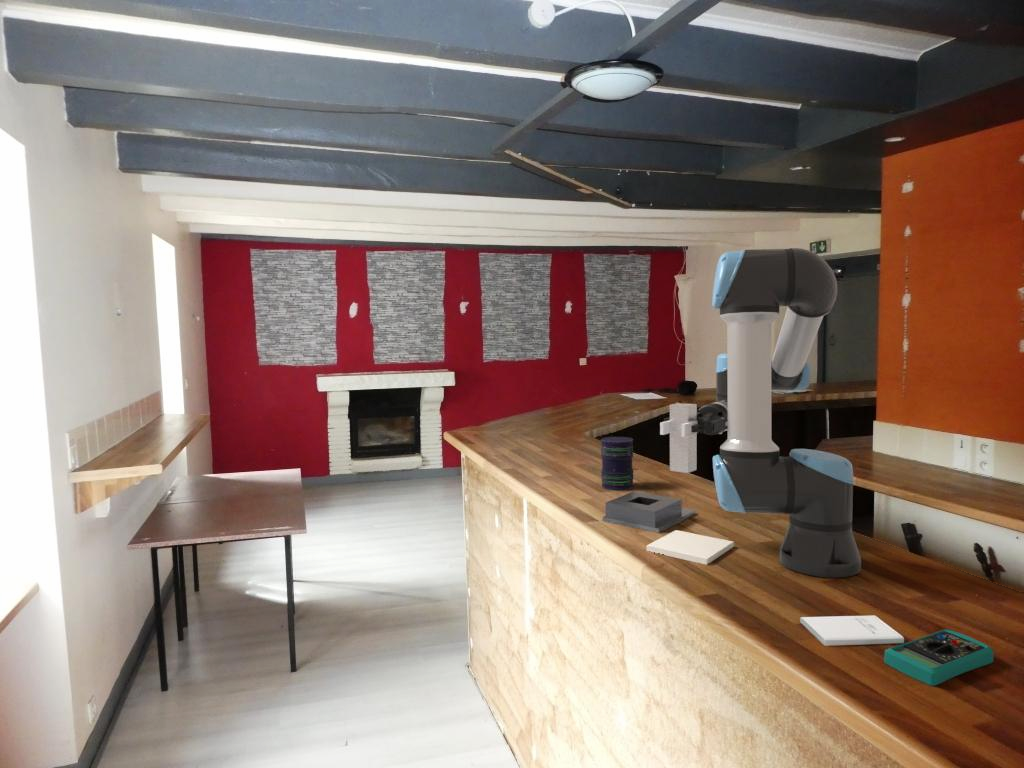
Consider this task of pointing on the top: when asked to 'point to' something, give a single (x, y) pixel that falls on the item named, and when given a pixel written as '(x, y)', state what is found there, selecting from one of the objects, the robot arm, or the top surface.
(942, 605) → the top surface
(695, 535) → the cream pad
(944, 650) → the digital multimeter
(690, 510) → the socket block
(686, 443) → the aluminium plug
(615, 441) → the storage jar
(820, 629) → the external hard drive
